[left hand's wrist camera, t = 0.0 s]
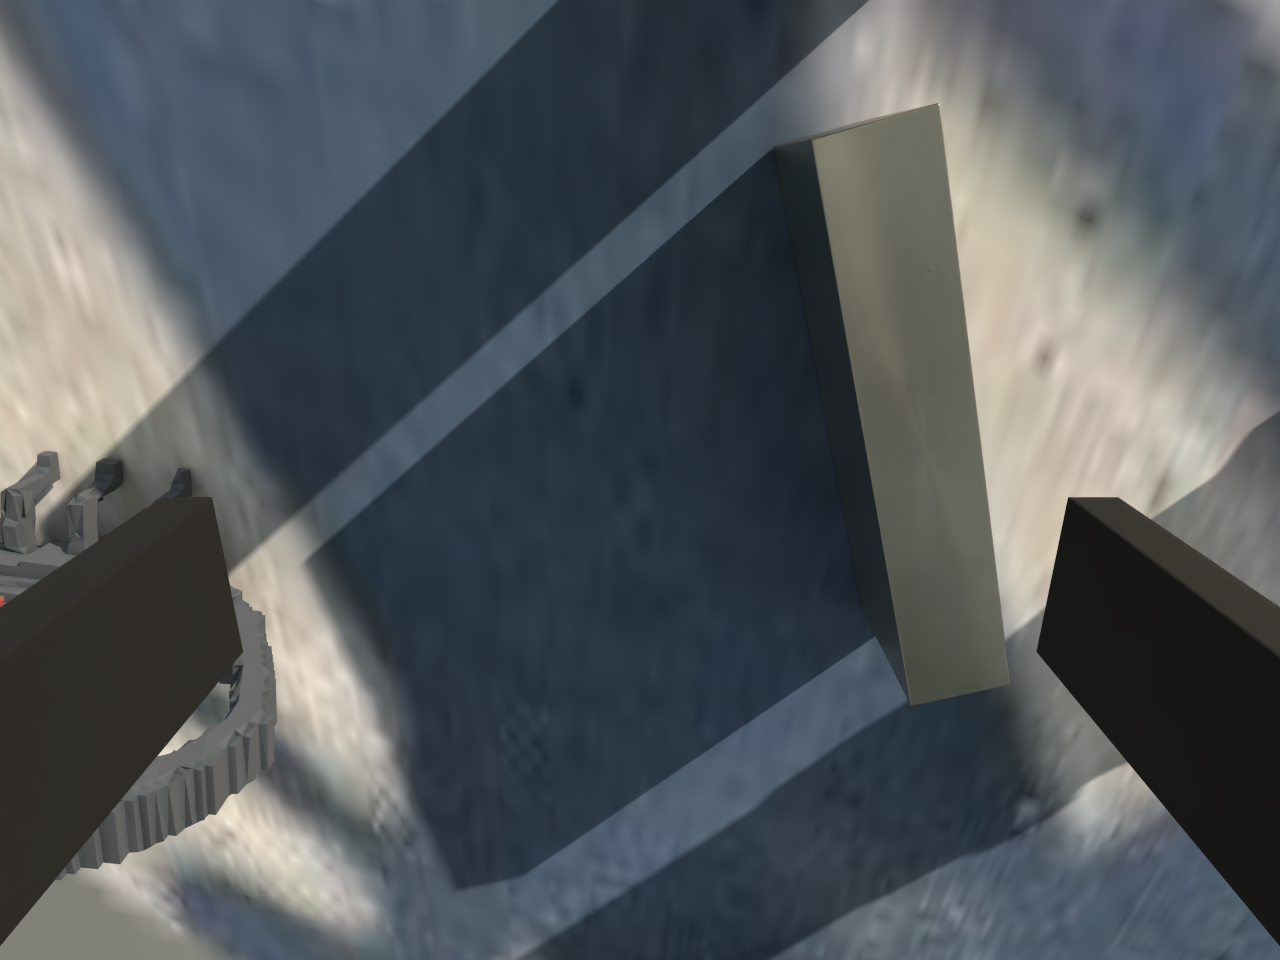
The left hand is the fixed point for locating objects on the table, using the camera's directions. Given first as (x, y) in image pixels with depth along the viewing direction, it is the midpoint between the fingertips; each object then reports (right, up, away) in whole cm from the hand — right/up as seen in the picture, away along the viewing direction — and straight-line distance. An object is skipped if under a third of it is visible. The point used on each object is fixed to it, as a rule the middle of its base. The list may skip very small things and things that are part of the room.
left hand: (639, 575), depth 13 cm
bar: (+11, +6, +28) cm, 30 cm away
